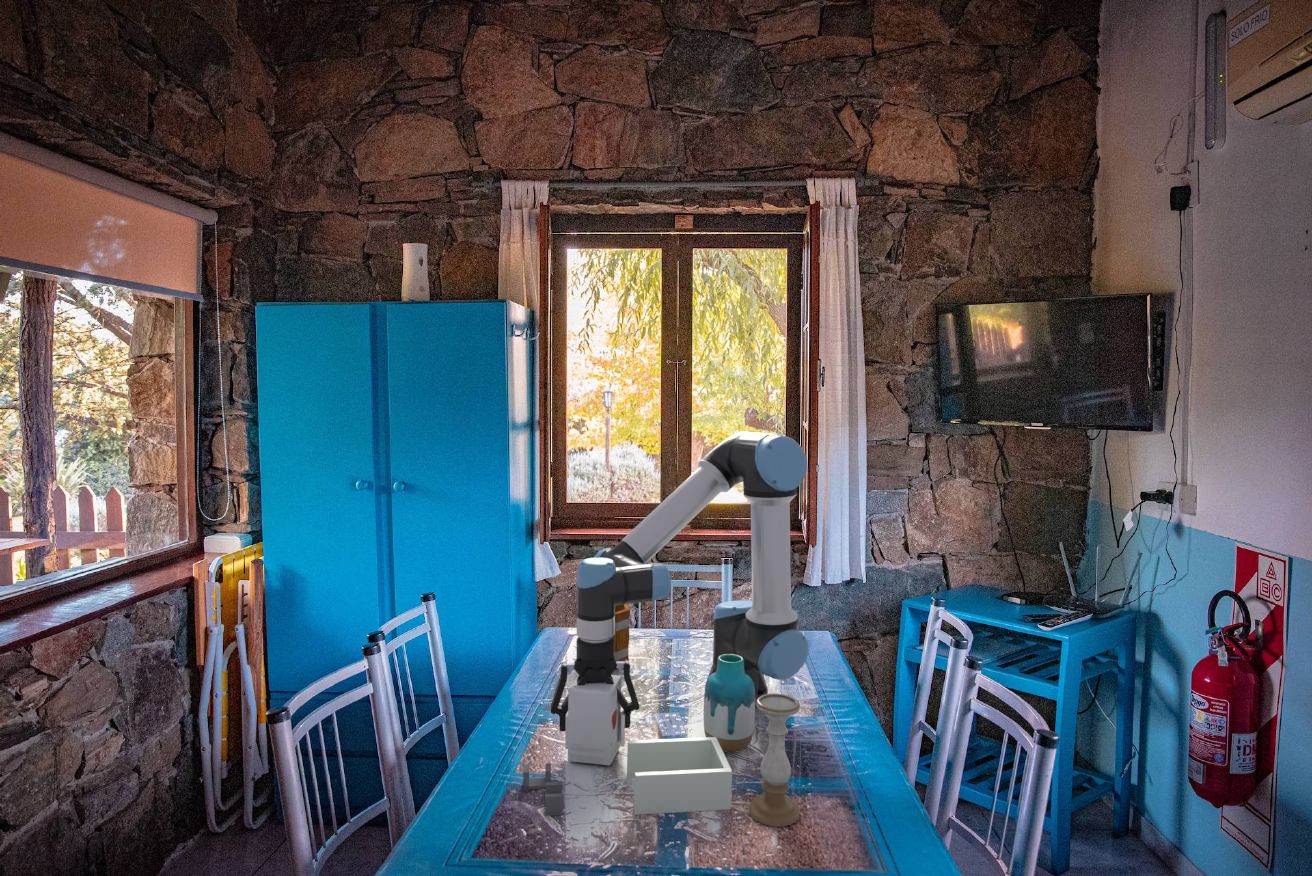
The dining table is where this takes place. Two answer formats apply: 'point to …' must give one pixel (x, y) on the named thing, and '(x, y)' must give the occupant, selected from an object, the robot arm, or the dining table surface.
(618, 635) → the mug
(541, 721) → the dining table surface
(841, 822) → the dining table surface
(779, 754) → the candle holder
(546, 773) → the clip
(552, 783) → the clip
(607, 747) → the supplement box
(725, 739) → the vase
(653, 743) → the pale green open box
